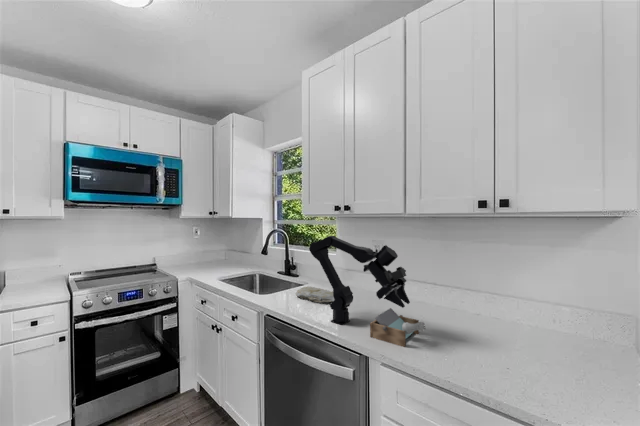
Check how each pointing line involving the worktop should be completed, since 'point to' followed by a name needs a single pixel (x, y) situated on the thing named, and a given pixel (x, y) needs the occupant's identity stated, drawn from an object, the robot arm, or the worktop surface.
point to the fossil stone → (315, 294)
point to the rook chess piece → (413, 327)
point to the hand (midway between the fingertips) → (406, 305)
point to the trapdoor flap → (391, 320)
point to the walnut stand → (391, 332)
